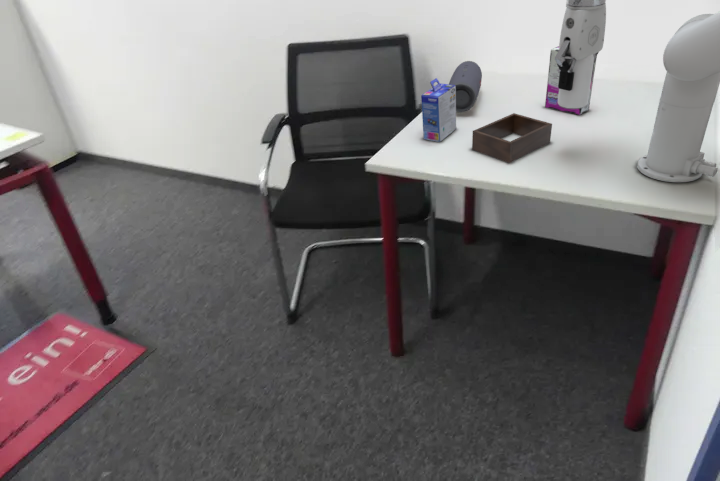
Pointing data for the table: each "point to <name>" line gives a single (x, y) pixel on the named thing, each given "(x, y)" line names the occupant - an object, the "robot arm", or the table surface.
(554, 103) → the candy bar box
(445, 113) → the ink cartridge box
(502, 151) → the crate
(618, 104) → the table surface
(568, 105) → the can
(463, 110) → the bluetooth speaker
